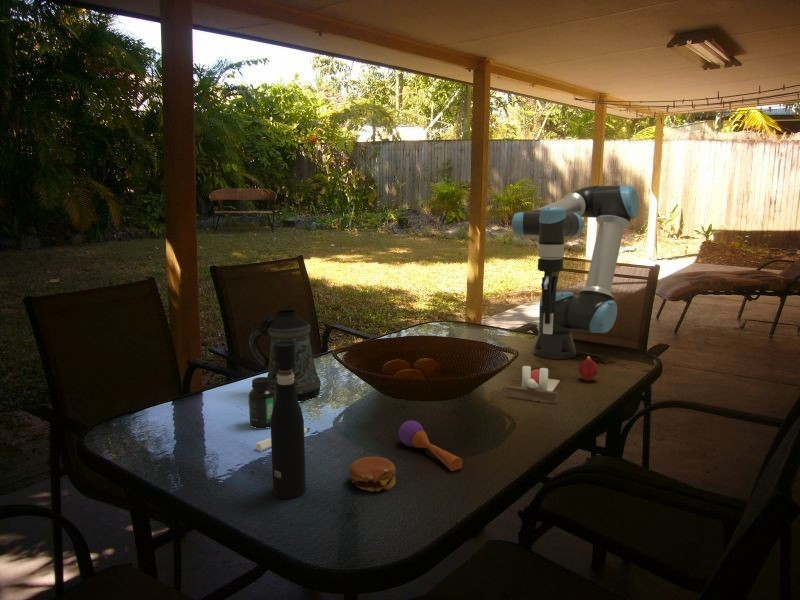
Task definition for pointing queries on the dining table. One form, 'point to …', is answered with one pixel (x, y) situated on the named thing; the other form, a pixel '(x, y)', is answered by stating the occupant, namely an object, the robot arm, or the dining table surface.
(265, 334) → the beer stein
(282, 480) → the black water bottle
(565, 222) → the robot arm
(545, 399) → the backstop
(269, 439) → the marker
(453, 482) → the dining table surface
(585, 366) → the onion
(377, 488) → the burger
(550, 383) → the cream flat rectangular slab
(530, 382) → the front pin
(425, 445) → the maraca
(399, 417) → the dining table surface
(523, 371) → the back pin right
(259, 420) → the supplement bottle
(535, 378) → the ball
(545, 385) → the back pin left
